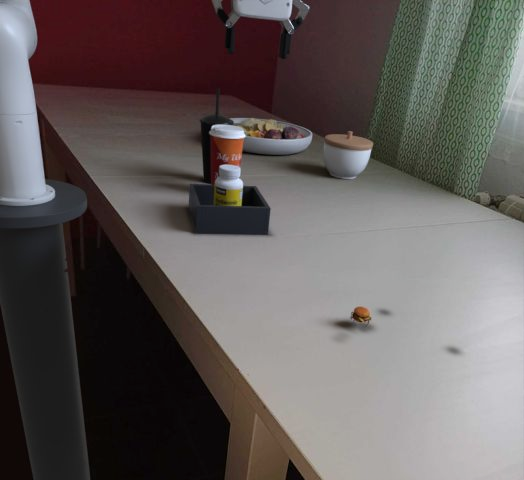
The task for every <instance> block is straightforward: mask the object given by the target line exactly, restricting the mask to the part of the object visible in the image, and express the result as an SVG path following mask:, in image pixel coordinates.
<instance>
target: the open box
mask: <svg viewBox="0 0 524 480" xmlns="http://www.w3.org/2000/svg"><path fill="white" fill-rule="evenodd" d="M214 187H215V185H211V183H206V184H205V183H189V184H188V211H189V214H190V218H191V221H192V225H193V229H194V232H195V234H209V235H212V234H213V235H263V236H264V235H265V236H266V235H267V236H268V235H269V228H270V217H271V210H272V209H271V207H270V205H269V203H268V201H267V200H266V199H265V197H264V196H263V194H262V193H261V191H260V190H259V188H258V187H257V185H243V193H242V205H241V206H218V205H213V204H214Z"/></svg>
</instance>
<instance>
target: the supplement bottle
mask: <svg viewBox="0 0 524 480" xmlns="http://www.w3.org/2000/svg"><path fill="white" fill-rule="evenodd" d="M241 169H242V167H241V166H240V167H238V166H235V165H220V167H219V175H220V177H218V178H217V179H216V180H215V187H214V204H213V205H218V206H241V205H242V193H243V186H244V182H243V180H242V179H241V178H240V177H241Z"/></svg>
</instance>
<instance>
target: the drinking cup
mask: <svg viewBox="0 0 524 480" xmlns="http://www.w3.org/2000/svg"><path fill="white" fill-rule="evenodd" d="M220 91H221V89H220V88H219V87H218V88H216V94H215V113H208V114H206V115H204V116H200V117H199V122H200V136H201V154H202V155H201V156H202V158H201V159H202V174H203V175H202V176H203V182H204V183H206V184H211V135H210V134H209V132H210V131H211V127H212V126H213V125H233V124H234V121H233V120H231V119H229V117H228V116H227V115H224V114H221V113H219V112H220V93H221V92H220Z"/></svg>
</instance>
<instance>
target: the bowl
mask: <svg viewBox="0 0 524 480" xmlns="http://www.w3.org/2000/svg"><path fill="white" fill-rule="evenodd" d="M228 118H229V117H228ZM229 119H231V120H233V121H234V124H233V126H238V127H241V128H243V130H244V134H245V136H246V137H245V138H244V141H243V149H242V152H245V153H249V154H258V155H266V156H267V155H268V156H284V155H285V156H287V155H295V154H298V153H300V152H303V151H305V150H306V149H307V148H308V147H309V146H310V144H311V143H312V140H313V132H312V131H311V130H310V129H308V128H305V127H303V126H300V125H297V124H293V123H289V122H284V121H279V120H276V119H266V118H265V119H264V118H255V117H233V118H232V117H231V118H229Z"/></svg>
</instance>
